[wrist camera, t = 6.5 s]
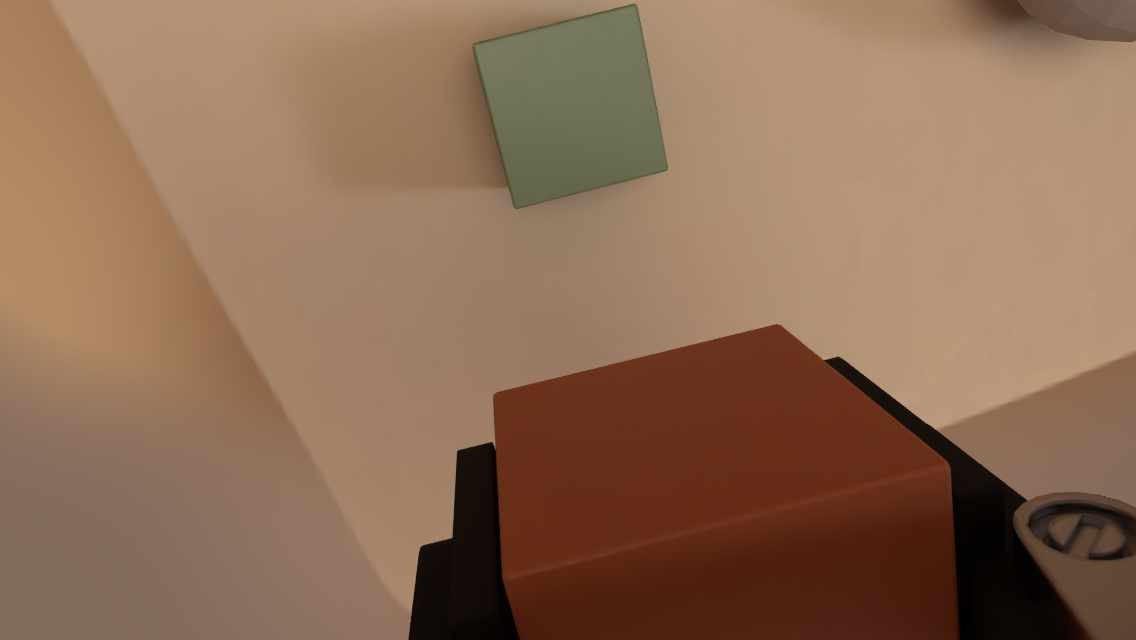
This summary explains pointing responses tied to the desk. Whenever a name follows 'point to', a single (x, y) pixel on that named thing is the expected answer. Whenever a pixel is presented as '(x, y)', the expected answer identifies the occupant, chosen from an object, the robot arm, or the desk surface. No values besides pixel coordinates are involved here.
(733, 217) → the desk surface
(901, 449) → the terracotta block
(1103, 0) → the perfume bottle
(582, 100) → the sage green block
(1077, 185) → the desk surface
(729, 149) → the desk surface
